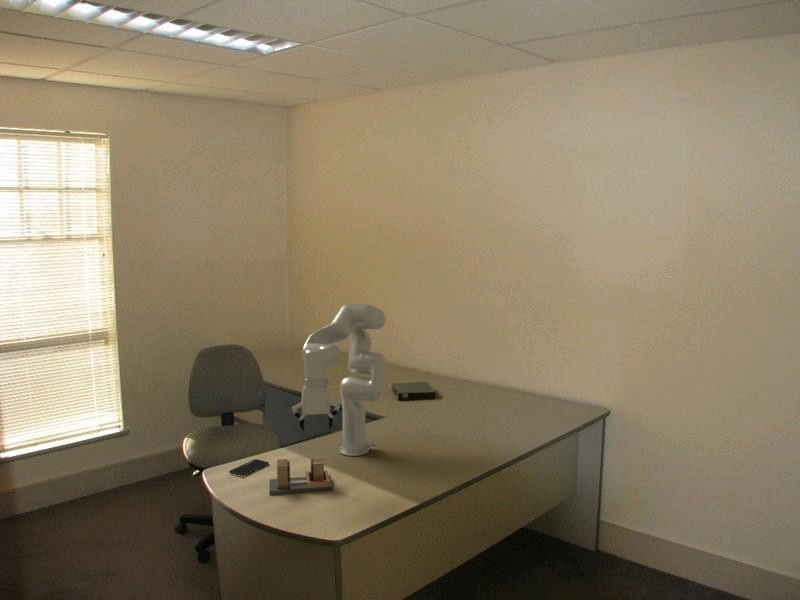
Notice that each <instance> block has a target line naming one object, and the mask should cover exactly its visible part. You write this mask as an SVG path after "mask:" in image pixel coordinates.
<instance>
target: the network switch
mask: <svg viewBox="0 0 800 600" xmlns="http://www.w3.org/2000/svg"><path fill="white" fill-rule="evenodd" d="M391 392H392V393H393V395H395V397H396V399H398V400H397V401H400V402H402V401H403V402H404V401H414V400H415V401H416V400H417V401H418V400H423V399H427V400H435V399H436V396H437V394H436V390H435V389H434V388H433V386H432V385H431V383H429V382H428V381H418V382H417V381H415V382H398V383H397V382H394V383H392V384H391Z"/></svg>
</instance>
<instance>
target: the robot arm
mask: <svg viewBox="0 0 800 600" xmlns="http://www.w3.org/2000/svg"><path fill="white" fill-rule="evenodd" d="M385 323H386V314H385V312H384V311H383V310H382V309H381V308H379V307H376V306H373V305H370V304H364V303H362V304H361V303H346V304H343V305H342V306H341V308H340V309H339V310H338V312H337V313H336V315H335V316H334V318H333V320H332V321H331V323H329V324H328V325H326V326H324V327H322V328H320V329H318V330H316V331H314V332H313V333H312V334H310V335H309V336H308V338H307V340H306V341H305V342H304V345H303V347H302V349H301V358H302V360H303V364H304V385H303V386H302V389H301V390H302V391H301V402H298V403H297V404H295V405H293V406H292V407H291V411H292V413H293V415H294V416H295V417H296V418H297V419H298V420H299V429H301V432H304V431H305V417H306V416H309V415H310V416H311V415H325V414H326V415H328V417H327V419H328V420H327V421H328V423H327V424H328V425H327V426H328V429H329V430H331V429H332V427H333V425H334V424H333V423H334V420H333V418H334V417H335V416H336V414H337V413H338V412H339V410H340V409H341V407H342V445H340V446H339V448H338V452H339V453H340V454H341V455H344V456H349V457H355V456H356V457H357V456H358V457H359V456H363V455H366V454H367V453H369V451H370V447H377V446H378V442H377V441H374V440H368V439H366V408H365V404H364V403H363V402H370V403H374V402H375V403H376V402H378V401H379V400H380V399H381V398H382V393H383V388H384V380H385V373H386V368H387V367H386V365H387V364H386V357H385V355H384V354H383V353H381V352H376V351H371V346H372V338H371V336H370V335H369V333H368V331H367V330H381V329H382V328H384V326H385ZM349 337H350V346H349V353H348V359H347V370H348V372H350V373H352V374H357V375H366V376H367V375H369V376H370V377H364V376H355V375H354V376H352V375H349V376H346V377H344V378H343V379H342V380H341V381H340V384H339V392H340V396H341V397H340V398H341V404H342V406H341V405H340V404H339V403H336V402H335V401H332V400H331V398H330V389H329V388H330V387H329V385H328V384H330V383H331V379H330V378H327V369H326V368H327V367H329V366H334V365H336V364H338V363H339V361H340V359H341V355H342V353H341V349H340V347H339V346H337V345H336V344H335V343H339V342H343V341H345V340H347V339H348V338H349ZM331 406H332V407H334V409H333V410H332V411H331ZM299 409H301V413H300V412H298V411H297V410H299Z"/></svg>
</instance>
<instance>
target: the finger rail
mask: <svg viewBox="0 0 800 600" xmlns="http://www.w3.org/2000/svg"><path fill="white" fill-rule="evenodd" d="M290 462H291V461H290V460H288V459H287V458H286V459H285V458H283V459H282V458H281V459H276V471H277V472H276V475H277V477H276V478H273V479H272V478H270V479H269V490H268V491H269V492H268V495H269V496H274V495H276V496H277V495H289V494H299V493H301V494H302V493H313V492H326V491H327V492H328V491H333V484H332V483H333V482H332V477H331V474H329V471H328V470H327V469H324V480H322V481H311V470H309V471H305V476H301V477H300V476H298V477H297V476H296V477H291V464H290Z"/></svg>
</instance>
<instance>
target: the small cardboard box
mask: <svg viewBox="0 0 800 600" xmlns="http://www.w3.org/2000/svg"><path fill="white" fill-rule="evenodd" d="M324 463H325V462H324V456H313V457H312V459H310V471H311V481H322V480H324V470H325V468H324V465H325V464H324Z"/></svg>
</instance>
